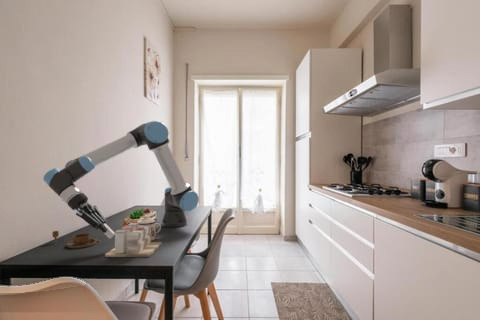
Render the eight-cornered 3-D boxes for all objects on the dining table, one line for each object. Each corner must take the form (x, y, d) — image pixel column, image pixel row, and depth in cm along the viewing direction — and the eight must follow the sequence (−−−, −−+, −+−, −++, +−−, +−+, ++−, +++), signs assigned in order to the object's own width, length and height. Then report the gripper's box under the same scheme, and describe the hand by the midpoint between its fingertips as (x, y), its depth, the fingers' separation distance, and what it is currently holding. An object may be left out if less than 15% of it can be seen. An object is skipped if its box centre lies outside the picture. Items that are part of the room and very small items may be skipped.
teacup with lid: (139, 243, 132) (139, 218, 132) (134, 238, 139) (134, 215, 139) (163, 239, 138) (163, 215, 139) (157, 235, 146) (157, 213, 146)
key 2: (130, 241, 129) (130, 223, 129) (138, 241, 129) (138, 223, 129) (127, 243, 126) (127, 224, 126) (135, 243, 126) (135, 224, 126)
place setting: (64, 253, 118) (64, 239, 118) (49, 244, 131) (49, 231, 132) (105, 244, 132) (106, 231, 132) (89, 236, 145) (89, 225, 145)
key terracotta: (124, 245, 123) (124, 226, 123) (133, 245, 123) (133, 226, 123) (121, 248, 119) (121, 228, 119) (130, 248, 119) (130, 228, 119)
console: (123, 244, 129) (123, 223, 129) (161, 244, 129) (161, 223, 129) (105, 256, 112) (105, 232, 112) (149, 256, 112) (149, 232, 112)
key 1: (118, 250, 116) (118, 229, 116) (127, 250, 116) (127, 229, 116) (114, 253, 113) (114, 231, 113) (123, 253, 113) (123, 231, 113)
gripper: (77, 202, 128) (113, 238, 127) (58, 206, 115) (98, 246, 114) (89, 190, 128) (124, 226, 127) (71, 193, 115) (111, 234, 114)
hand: (112, 236), depth 121 cm, fingers closed
